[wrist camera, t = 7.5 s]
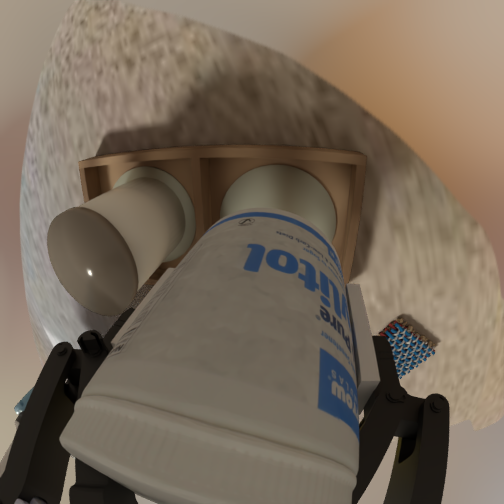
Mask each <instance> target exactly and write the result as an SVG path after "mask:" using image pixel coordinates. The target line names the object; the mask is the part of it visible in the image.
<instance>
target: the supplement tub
mask: <svg viewBox="0 0 504 504" xmlns="http://www.w3.org/2000/svg"><path fill="white" fill-rule="evenodd" d="M59 440H60V443H61V445H62V446H63V447H64V448H65V449H66V450H67V451H68V452H69V453H70V454H71V455H72V456H74V457H76V458H78V459H79V460H81V461H83V462H84V463H86V464H87V465H89V466H91V467H92V468H94V469H96V470H97V471H99V472H101V473H103V474H104V475H106V476H108V477H109V478H111V479H113V480H114V481H116V482H117V483H119V484H121V485H123V486H124V487H126V488H128V489H130V490H131V491H133V492H134V493H135V494H137V495H139V496H141V497H143V498H146V499H148V500H150V501H153V502H155V503H158V504H352V492H353V490H354V488H355V487H356V483H357V479H356V475H357V473H358V469H359V412H358V395H357V381H356V370H355V358H354V349H353V339H352V331H351V324H350V317H349V310H348V304H347V297H346V290H345V285H344V278H343V273H342V269H341V264H340V261H339V258H338V255H337V252H336V250H335V248H334V247H333V245H332V243H331V242H330V240H329V239H328V238H327V237H326V235H325V234H324V233H323V232H322V231H321V230H320V229H319V228H317V227H316V226H315V225H314V224H312V223H311V222H310V221H308V220H306V219H304V218H302V217H300V216H298V215H296V214H293V213H290V212H287V211H283V210H279V209H273V208H249V209H244V210H240V211H237V212H234V213H232V214H229V215H227V216H225V217H223V218H222V219H220V220H219V221H217V222H216V223H215V224H214V225H212V226H211V227H210V228H209V229H208V230H207V232H206V233H205V234H204V235H203V236H202V237H201V238H200V240H199V241H198V242H197V243H196V244H195V245H194V246H193V248H192V249H191V250H190V251H189V252H188V254H187V255H186V256H185V257H184V258H183V260H182V261H181V262H180V263H179V264H178V266H177V267H176V268H175V269H174V270H173V272H172V273H171V274H170V275H169V276H168V278H167V279H166V280H165V281H164V283H163V284H162V285H161V286H160V288H159V289H158V290H157V291H156V293H155V294H154V295H153V296H152V298H151V299H150V300H149V301H148V303H147V304H146V305H145V307H144V308H143V309H142V310H141V312H140V313H139V314H138V316H137V317H136V318H135V320H134V321H133V322H132V324H131V325H130V326H129V327H128V329H127V330H126V331H125V333H124V334H123V335H122V337H121V338H120V339H119V341H118V342H117V343H116V345H115V346H114V348H113V349H112V350H111V352H110V353H109V354H108V356H107V357H106V359H105V360H104V361H103V363H102V364H101V366H100V367H99V369H98V370H97V371H96V373H95V374H94V376H93V377H92V379H91V380H90V382H89V383H88V385H87V386H86V388H85V389H84V391H83V393H82V396H81V398H80V399H79V400H77V401H76V403H75V406H74V413H73V415H72V417H71V419H70V420H69V422H68V423H67V425H66V427H65V428H64V430H63V432H62V434H61V436H60V439H59Z"/></svg>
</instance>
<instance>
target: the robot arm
mask: <svg viewBox="0 0 504 504" xmlns="http://www.w3.org/2000/svg"><path fill="white" fill-rule="evenodd" d="M174 269H175V268H168V269H167V270H166V272H165V273H164V274H163V275H162V276H161V278H160V279H159V280H158V281H157V283H156V284H155V285H154V286H153V288H152V289H151V290H150V291H149V293H148V294H147V295H146V296H145V298H144V299H143V300H142V302H141V303H140V304H139V305H138V307H137V308H136V309H133V308H130V309H128V310H127V311H125V312H124V313H123V314H122V315H121V316H120V317H119V319H118V321H116V322H115V324H114V326H112V327H111V329H110V330H109V331H108V333H107V334H106V335H105V337H104V338H103V339H102V336H101V334H100V333H99V332H97V331H95V330H90V331H86V332H84V333H83V334H81V335H80V336H79V338H78V340H77V342H78V344H79V346H80V347H81V349H82V350H81V349H73V347H72V345H71V344H70V343H68V342H61V343H58V344H57V345H56V346H55V347H54V348H53V349H52V351H51V353H50V355H49V357H48V359H47V361H46V363H45V365H44V367H43V369H42V371H41V373H40V376H39V378H38V380H37V382H36V384H35V386H34V387H33V388H32V389H31V390H30V391H29V392H28V393H27V394H26V395H25V396H24V397H23V398H22V400H20V402H19V403H18V404H17V405H16V406H15V408H14V409H15V411H16V414H19V416H18V417H17V419H16V420H15V425H16V429H17V431H16V434H15V437H14V440H13V441H12V443H11V445H10V447H9V448H8V450H7V452H6V453H5V455H4V457H3V459H2V460H1V463H0V504H60V501H61V496H62V492H63V487H64V481H65V476H66V471H67V466H68V462H69V457H70V456H71V457H73V458H74V459H75V469H76V483H75V484H74V485H73V486H71V488H70V490H69V497H70V504H138V502H137V501H136V498H135V493H134V492H133V491H131V490H130V489H128V488H126V487H124V486H123V485H121V484H119V483H117V482H116V481H114V480H113V479H111V478H109V477H108V476H106V475H104V474H103V473H101V472H99V471H97V470H96V469H94V468H92V467H91V466H89V465H87V464H86V463H84V462H83V461H81V460H79V459H78V458H76V457H74V456H72V455H71V454H70V453H69V452H68V451H67V450H66V449H65V448H64V447H63V446H62V445H61V443H60V440H59V439H60V436H61V434H62V432H63V430H64V428H65V427H66V425H67V423H68V422H69V420H70V419H71V417H72V415H73V413H74V406H75V403H76V401H77V400H79V399H80V398H81V396H82V393H83V391H84V389H85V388H86V386H87V385H88V383H89V382H90V380H91V379H92V377H93V376H94V374H95V373H96V371H97V370H98V369H99V367H100V366H101V364H102V363H103V361H104V360H105V359H106V357H107V356H108V354H109V353H110V352H111V350H112V349H113V348H114V346H115V345H116V343H117V342H118V341H119V339H120V338H121V337H122V335H123V334H124V333H125V331H126V330H127V329H128V327H129V326H130V325H131V324H132V322H133V321H134V320H135V318H136V317H137V316H138V314H139V313H140V312H141V310H142V309H143V308H144V307H145V305H146V304H147V303H148V301H149V300H150V299H151V298H152V296H153V295H154V294H155V293H156V291H157V290H158V289H159V288H160V286H161V285H162V284H163V283H164V281H165V280H166V279H167V278H168V276H169V275H170V274H171V273H172V272H173V270H174ZM345 290H346V297H347V304H348V310H349V317H350V324H351V331H352V339H353V349H354V358H355V370H356V381H357V395H358V412H359V415H360V414H361V412H362V411H363V409H364V418H363V419H362V421H361V422H360V424H359V469H358V473H357V475H356V479H357V483H356V487H355V488H354V490H353V492H352V504H357V503H358V501H359V499H360V498H361V496H362V495H363V493H364V491H365V490H366V488H367V487H368V485H369V483H370V481H371V480H372V478H373V476H374V474H375V473H376V471H377V469H378V467H379V465H380V463H381V461H382V459H383V457H384V455H385V453H386V451H387V449H388V447H389V445H390V443H391V441H392V439H393V436H397V437H399V438H398V444H397V450H396V455H395V460H394V465H393V469H392V474H391V478H390V482H389V486H388V490H387V493H386V497H385V500H384V504H441V501H442V496H443V489H444V484H445V477H446V469H447V458H448V446H449V403H448V401H447V399H446V398H445V397H444V396H442V395H440V394H431V395H429V396H428V397H427V398H426V399H423V398H418V397H414V396H411V395H409V394H407V391H406V390H405V389H404V388H403V387H401V386H400V383H399V378H398V373H397V369H396V365H395V360H394V356H393V353H392V348H391V344H390V343H389V341H388V340H387V339H386V337H385V336H372V335H371V330H370V326H369V321H368V317H367V312H366V308H365V304H364V300H363V296H362V292H361V288H360V285H359V284H346V288H345ZM66 379H68V380H67V382H66V383H65V381H66Z"/></svg>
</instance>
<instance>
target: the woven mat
mask: <svg viewBox="0 0 504 504" xmlns="http://www.w3.org/2000/svg"><path fill="white" fill-rule="evenodd" d="M400 323H403V319H402V318H400V319H397V320H395V321H394V322H393V323H392V324H391V323H390V324H389V327H388V328H385V329H384V331H383V332H381V333H380V334H379V335H378V336H385V337H386V339H387V340H388V341H389V343H390V344H391V348H392V353H393V356H394V360H395V365H396V369H397V373H398V378H400V379H401V378H402V377H401V376H403V375H405V374H406V372H407V373H410V371H409V370H412V369H414V366H416V367H418V364H420V363H422V361H421V360H422V359H423V360H424V361H426V360H427V359H426V358H427V357H430V356H431V355H430V353H432V354H433V355H434V354H435V352H434V351H435V350H434V348H435V347H434V345H435V344H432V342H431V341H429V343H428V342H426V341H427V340H428V338H425V336H420V335H419V333H416V334H414V332H415V330H412V329H413V327H412V326H410V325H409V326H408V327H405V325H406V324H407V323H408V322H405V323H403V324H400ZM395 326H396V327H397V328H396V327H395ZM419 336H420V337H419Z"/></svg>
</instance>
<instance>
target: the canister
mask: <svg viewBox="0 0 504 504" xmlns="http://www.w3.org/2000/svg"><path fill="white" fill-rule="evenodd" d="M185 226H186V219H185V213H184V209H183V206H182V204H181V202H180V200H179V198H178V197H177V195H176V194H175V193H174V191H173V190H172V189H171V188H170V187H169V186H167V185H166V184H165V183H163V182H161V181H159V180H157V179H154V178H150V177H140V178H136V179H133V180H131V181H129V182H127V183H124V184H122V185H120V186H118V187H116V188H114V189H112V190H110V191H108V192H106V193H104V194H102V195H100V196H98V197H96V198H94V199H92V200H90V201H88V202H86V203H84V204H82V205H80V206H79V207H73V208H70V209H68V210H66V211H64V212H63V213H61V214H59V215H58V216H56V217H55V218H54V219H53V221H52V223H51V225H50V227H49V230H48V236H47V246H48V253H49V258H50V261H51V264H52V267H53V269H54V271H55V273H56V275H57V277H58V279H59V281H60V282H61V284H62V285H63V286H64V288H65V289H66V290H67V292H68V293H69V294H70V295H71V296H72V297H73V298H74V299H75V300H76V301H77V302H78V303H80V304H81V305H82V306H84V307H85V308H87V309H89V310H90V311H92V312H95V313H97V314H100V315H104V316H115V315H118V314H121V313H122V312H124V311H125V310H126V309H127V308H128V306H129V305H130V304H131V303H132V301H133V300H134V298H135V296H136V294H137V292H138V290H139V289H140V288H141V287H142V286H143V284H144V283H145V282H146V281H147V280H148V279H149V277H150V276H151V275H152V274H153V273H154V272H155V270H156V269H157V268H158V267H159V266H160V265H161V264H162V262H163V261H164V260H165V259H166V258H167V257H168V256H169V255H170V253H171V252H172V251H173V250H174V249H175V248H176V247H177V246H178V244H179V243H180V242H181V240H182V238H183V236H184V232H185Z"/></svg>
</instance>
